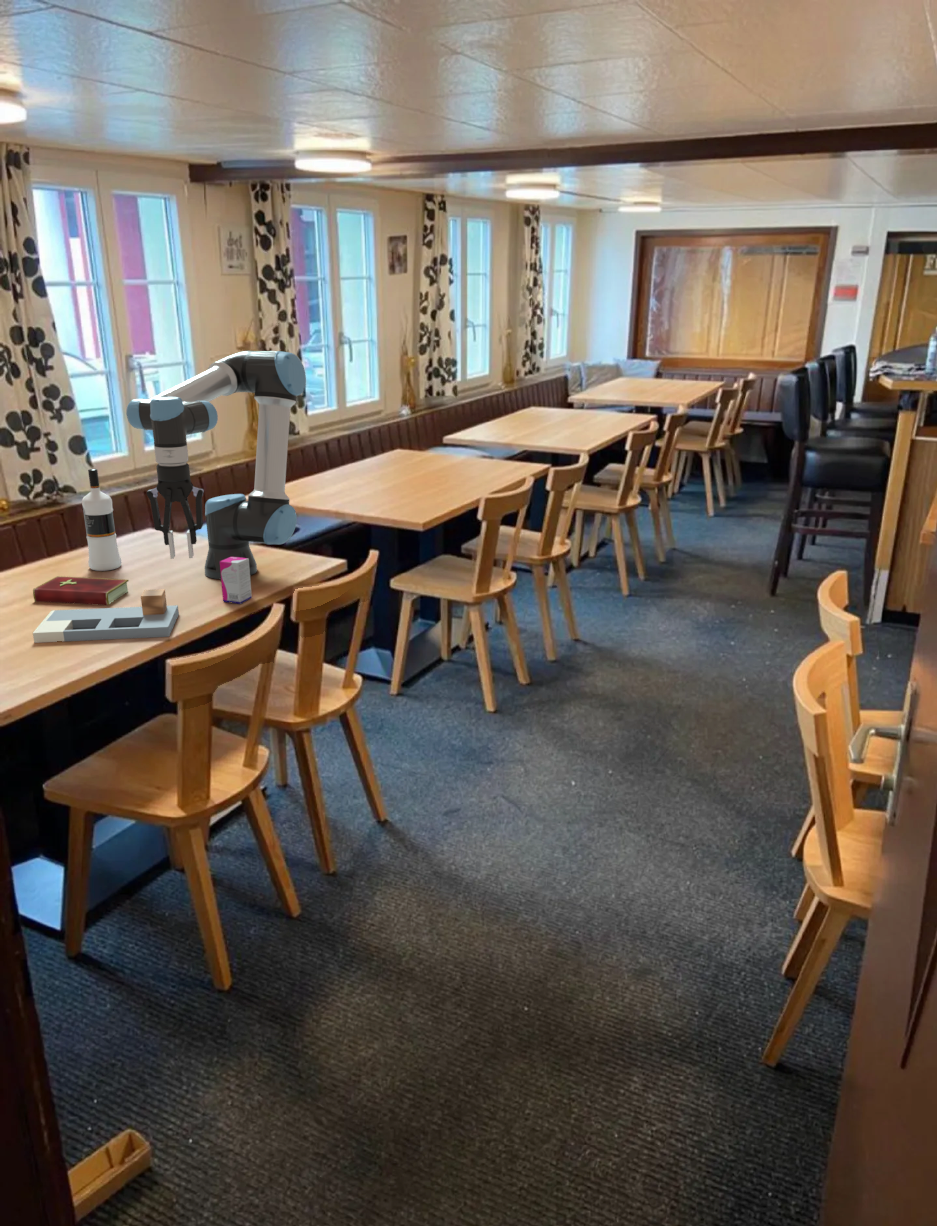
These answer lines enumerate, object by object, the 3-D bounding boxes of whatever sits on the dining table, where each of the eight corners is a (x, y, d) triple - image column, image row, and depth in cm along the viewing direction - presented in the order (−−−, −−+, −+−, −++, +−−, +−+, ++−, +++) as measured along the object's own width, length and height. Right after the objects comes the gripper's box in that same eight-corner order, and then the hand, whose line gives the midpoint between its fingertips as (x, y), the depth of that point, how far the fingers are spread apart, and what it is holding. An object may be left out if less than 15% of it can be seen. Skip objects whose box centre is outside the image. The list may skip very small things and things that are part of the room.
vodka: (119, 570, 262) (106, 471, 252) (86, 572, 260) (72, 472, 250) (123, 562, 271) (111, 465, 260) (91, 563, 269) (78, 466, 258)
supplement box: (252, 597, 240) (249, 557, 236) (240, 604, 235) (237, 563, 231) (234, 595, 242) (231, 555, 238) (222, 602, 237) (218, 561, 233)
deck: (178, 614, 227) (177, 605, 226) (169, 636, 212) (167, 626, 211) (53, 619, 222) (51, 610, 221) (34, 642, 207) (32, 632, 206)
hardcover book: (108, 607, 233) (106, 592, 232) (34, 603, 235) (32, 588, 234) (130, 593, 244) (128, 578, 243) (59, 589, 246) (57, 575, 245)
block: (166, 607, 224) (164, 589, 223) (163, 614, 220) (161, 595, 218) (146, 608, 224) (144, 589, 222) (142, 615, 219) (140, 596, 217)
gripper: (132, 466, 205) (144, 562, 213) (206, 465, 208) (215, 559, 216) (139, 461, 212) (149, 553, 220) (210, 460, 215) (218, 551, 223)
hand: (182, 556), depth 218 cm, fingers open, 4 cm apart
